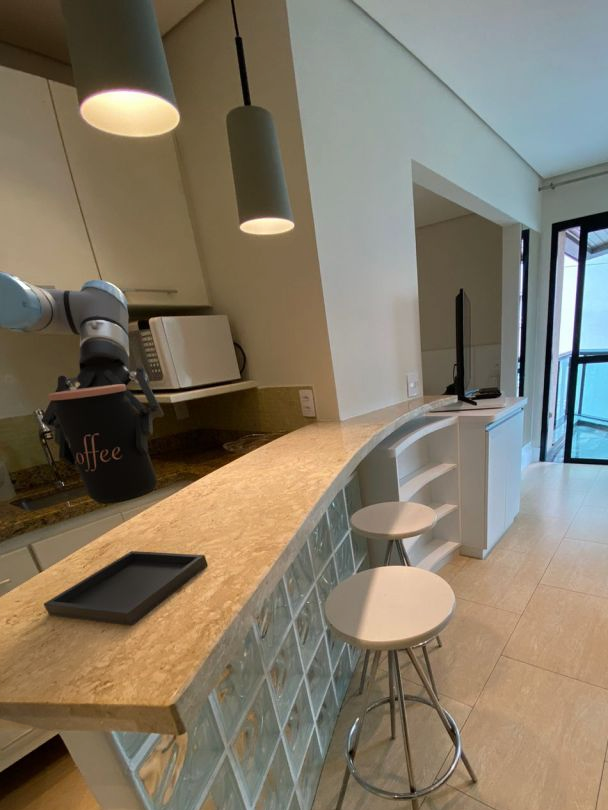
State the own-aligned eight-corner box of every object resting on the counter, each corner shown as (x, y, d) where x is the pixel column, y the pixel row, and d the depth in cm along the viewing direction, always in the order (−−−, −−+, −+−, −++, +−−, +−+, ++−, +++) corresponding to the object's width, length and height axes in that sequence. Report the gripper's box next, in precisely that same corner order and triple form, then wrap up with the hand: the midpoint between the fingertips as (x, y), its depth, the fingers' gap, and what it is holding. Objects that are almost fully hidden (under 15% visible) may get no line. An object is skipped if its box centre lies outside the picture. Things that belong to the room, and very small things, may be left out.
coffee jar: (76, 505, 69) (29, 396, 62) (126, 484, 78) (90, 387, 71) (127, 505, 66) (84, 391, 59) (172, 483, 76) (140, 382, 68)
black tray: (48, 615, 59) (42, 603, 58) (135, 560, 73) (131, 550, 72) (132, 625, 55) (126, 613, 54) (207, 565, 68) (204, 554, 67)
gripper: (18, 344, 69) (7, 455, 61) (164, 330, 73) (171, 432, 65) (47, 375, 76) (41, 479, 68) (179, 361, 80) (187, 456, 72)
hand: (105, 456), depth 67 cm, fingers closed on coffee jar, 10 cm apart
